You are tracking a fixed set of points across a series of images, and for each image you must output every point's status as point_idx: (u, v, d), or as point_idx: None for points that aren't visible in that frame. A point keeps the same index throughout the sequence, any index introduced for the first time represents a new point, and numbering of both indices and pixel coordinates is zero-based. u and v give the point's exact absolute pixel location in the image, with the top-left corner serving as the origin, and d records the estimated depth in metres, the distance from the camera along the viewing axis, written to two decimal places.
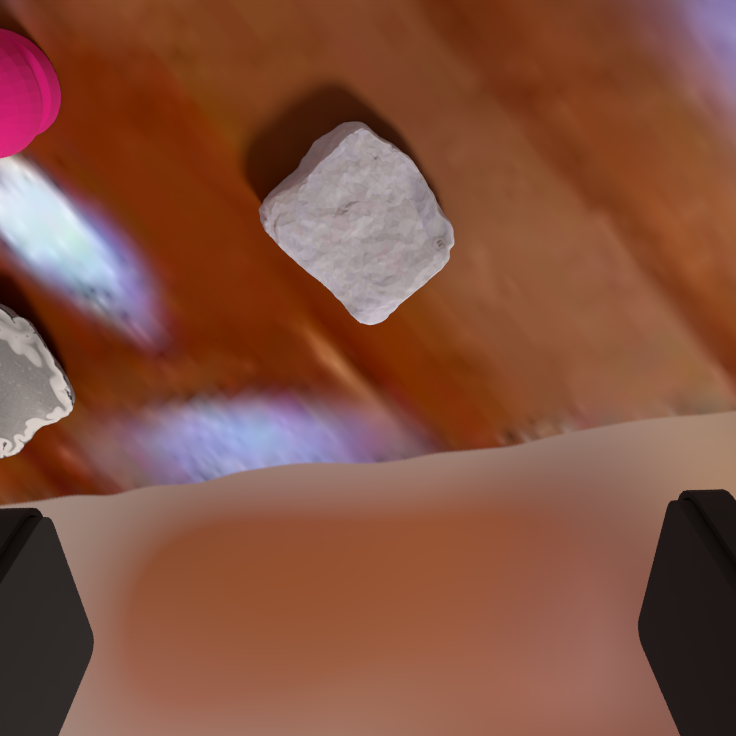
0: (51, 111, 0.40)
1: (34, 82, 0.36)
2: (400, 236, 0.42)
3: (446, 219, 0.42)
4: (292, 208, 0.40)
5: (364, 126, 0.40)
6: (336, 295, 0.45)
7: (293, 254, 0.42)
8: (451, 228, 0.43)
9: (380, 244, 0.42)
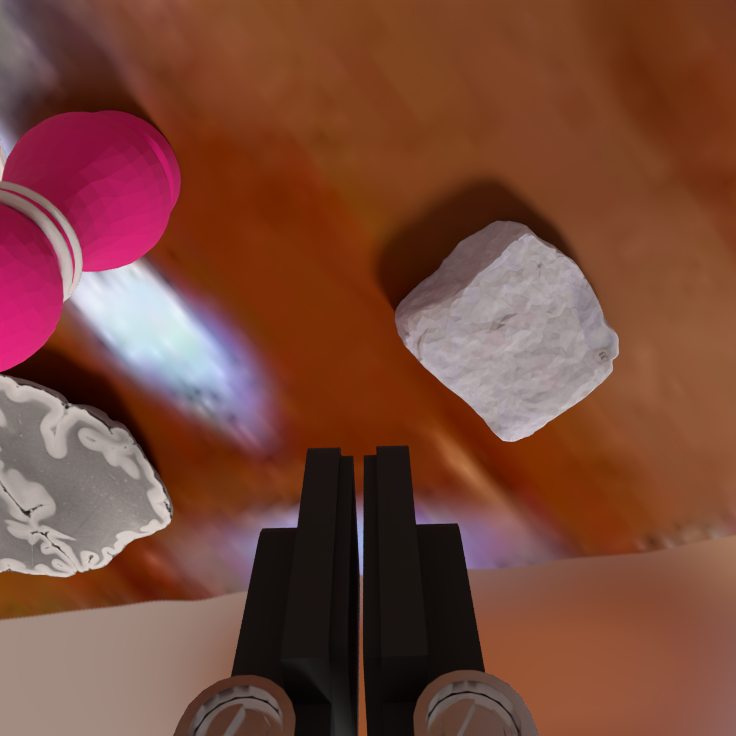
0: (171, 204, 0.34)
1: (165, 181, 0.31)
2: (559, 350, 0.37)
3: (612, 329, 0.37)
4: (443, 324, 0.35)
5: (527, 230, 0.34)
6: (478, 411, 0.39)
7: (436, 371, 0.37)
8: (617, 339, 0.37)
9: (536, 358, 0.37)
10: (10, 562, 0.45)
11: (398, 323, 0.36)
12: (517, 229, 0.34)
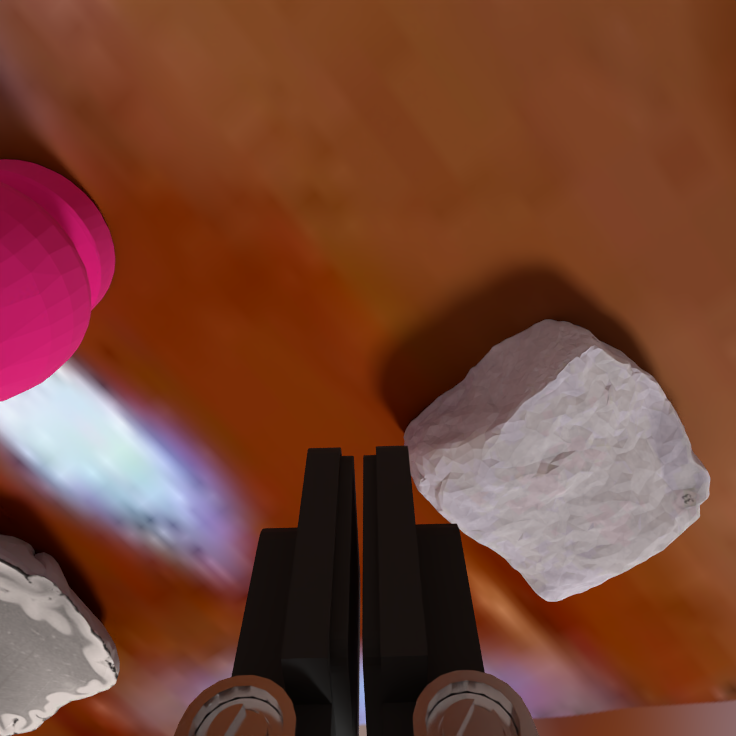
0: (100, 292, 0.24)
1: (79, 272, 0.20)
2: (630, 495, 0.27)
3: (702, 466, 0.27)
4: (472, 469, 0.25)
5: (592, 339, 0.24)
6: (515, 566, 0.29)
7: (461, 524, 0.27)
8: (709, 479, 0.27)
9: (598, 505, 0.27)
10: None
11: (409, 458, 0.27)
12: (577, 338, 0.24)
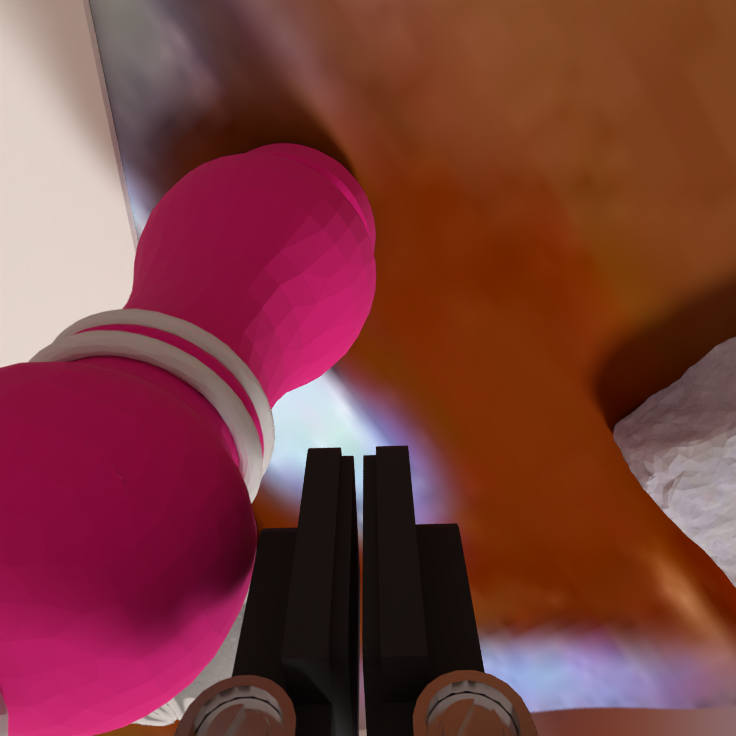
0: None
1: (373, 263, 0.20)
2: None
3: None
4: (710, 467, 0.25)
5: None
6: (719, 563, 0.29)
7: (683, 521, 0.27)
8: None
9: None
10: None
11: (632, 456, 0.27)
12: None
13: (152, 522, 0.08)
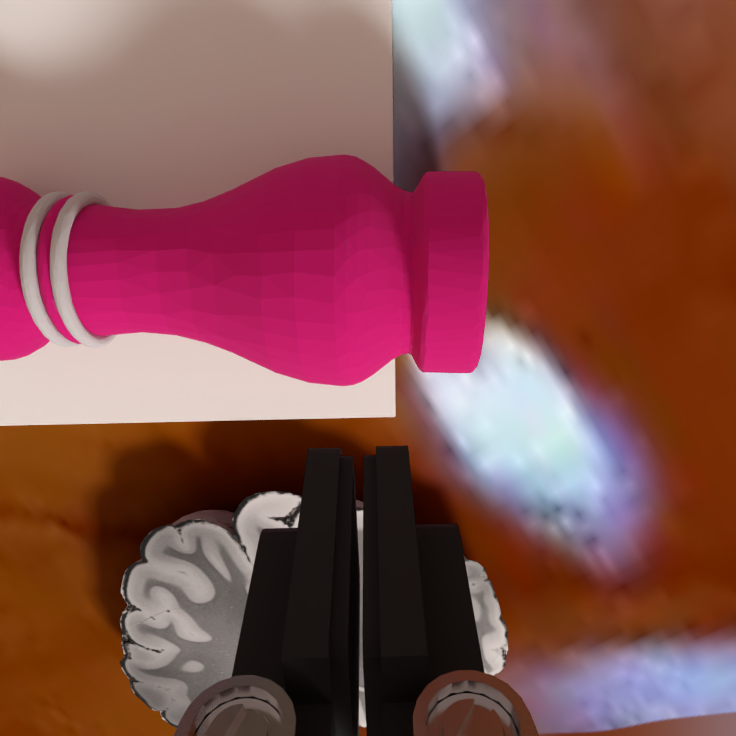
0: (432, 356, 0.19)
1: (326, 308, 0.17)
2: None
3: None
4: None
5: None
6: None
7: None
8: None
9: None
10: None
11: None
12: None
13: None
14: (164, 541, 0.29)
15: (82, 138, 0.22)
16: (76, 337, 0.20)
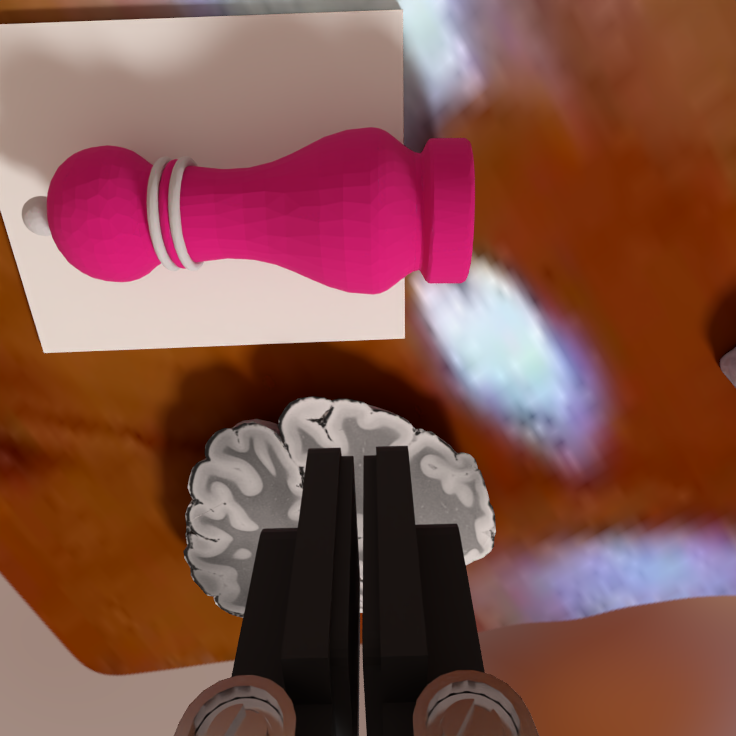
0: (437, 264, 0.27)
1: (365, 226, 0.26)
2: None
3: None
4: None
5: None
6: None
7: None
8: None
9: None
10: None
11: None
12: None
13: (60, 190, 0.27)
14: (224, 442, 0.36)
15: (176, 121, 0.30)
16: (182, 258, 0.28)
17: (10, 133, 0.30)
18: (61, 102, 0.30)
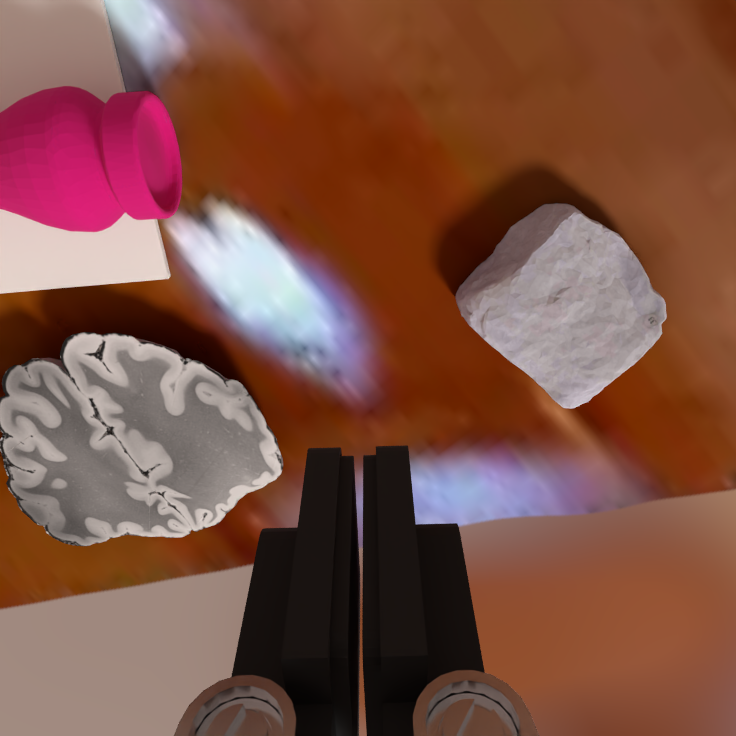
0: (123, 200, 0.32)
1: (45, 168, 0.30)
2: (611, 318, 0.40)
3: (659, 295, 0.40)
4: (504, 301, 0.38)
5: (575, 209, 0.38)
6: (538, 382, 0.42)
7: (499, 346, 0.40)
8: (664, 304, 0.40)
9: (590, 327, 0.40)
10: (128, 525, 0.47)
11: (461, 305, 0.40)
12: (565, 209, 0.38)
13: None
14: (17, 378, 0.41)
15: None
16: None
17: None
18: None
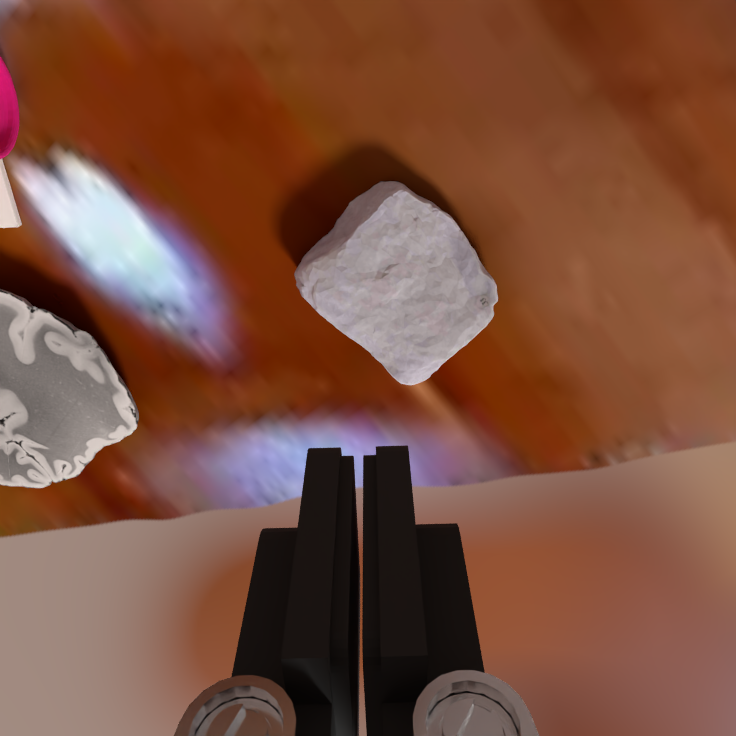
0: None
1: None
2: (442, 297, 0.41)
3: (489, 277, 0.41)
4: (331, 274, 0.39)
5: (403, 187, 0.38)
6: (376, 357, 0.43)
7: (332, 318, 0.41)
8: (495, 286, 0.41)
9: (422, 305, 0.41)
10: None
11: (296, 276, 0.41)
12: (394, 187, 0.39)
13: None
14: None
15: None
16: None
17: None
18: None
